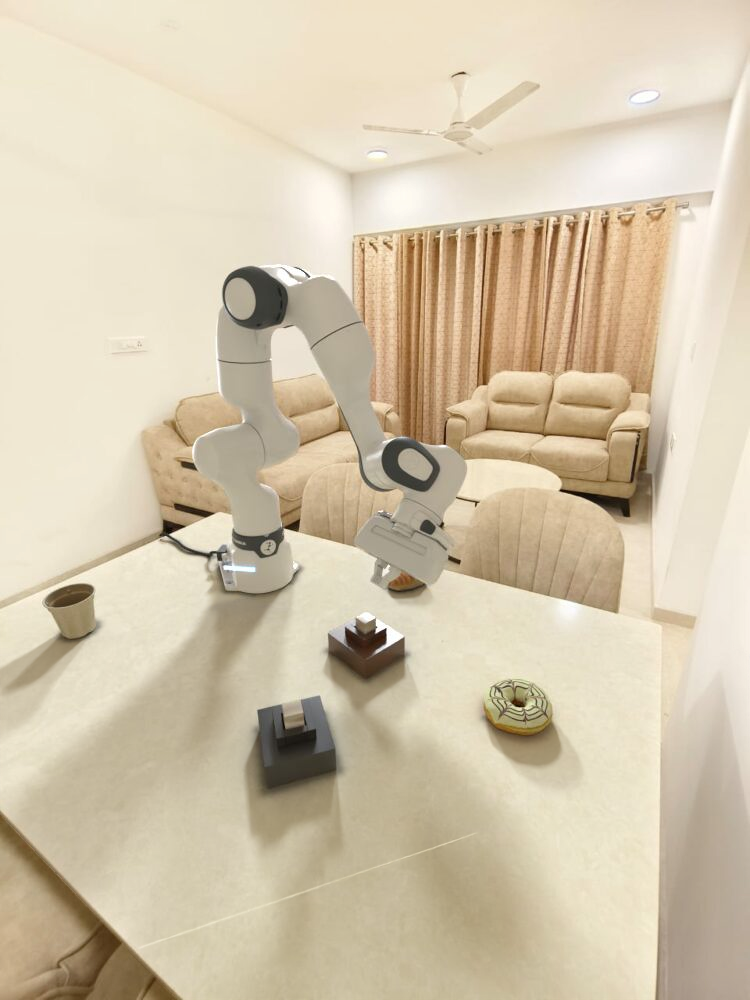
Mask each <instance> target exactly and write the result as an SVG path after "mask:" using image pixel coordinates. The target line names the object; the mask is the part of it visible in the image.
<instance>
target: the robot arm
mask: <svg viewBox="0 0 750 1000" xmlns="http://www.w3.org/2000/svg"><path fill="white" fill-rule="evenodd" d="M221 300H222V304H223V306H222V307H221V308H220V309H219V310H218V314H217V319H216V320H217V321H216V330H215V356H216V370H217V383H218V392H219V394H220V397H221V399H222V400H223V401H224V402H226V403H227V404H228V405H230V406H231V407H234V408H236V409H239V411H240V414H241V417H242V422H241V423H238V424H233V425H228V426H224V427H219V428H215V429H214V430H211V431H209V432H206V433H205V434H203V435H201V436H199V437H197V438H196V439H195V441H194V443H193V446H192V451H191V452H192V453H191V457H192V461H193V464H194V466H195V468H196V470H197V471H198V472H199V473H200V475H201V476H202V477H204V478H205V479H206V480H209V481H212V482H213V483H215V484H216V485H218V486H219V488H221V490H222V491H223V492H224V494H225V495H226V498H227V500H228V503H229V508H230V512H231V513H230V514H231V518H232V526H233V527H232V529H231V540H230V541H229V542H228V543H227V544H221V546H219V548H218V549H217V550H211V551H209V553H208V552H202V551H199V550H196V549H192V548H190V547H188V546H186V545H184V544H183V543H182V542H181V541H180V540H178V539H177V538H176V537H173V536H171V534H169V533H167V532H160V533H159V534H158V537H163V536H165V537H166V538H168V539H170V540H171V541H173V542H174V543H176V544H177V545H178V546H179V547H180V548H182V549H183V550H185V551H187V552H190V553H193V554H196V555H201V556H205V557H213V555H216V560H217V562H218V565H219V566H218V567H219V569H220V573H221V574H220V575H221V578H222V581H223V585H224V590H225V591H227V592H241V593H246V594H247V593H248V594H265V593H271V592H274V591H277V590H280V589H282V588H283V587H286V586H287V585H288V584H289V583H290V582H291V581H292V579H293V577H294V574H295V573H297V572H298V571H299V568H300V567H299V564H298V563H296V562H295V561H294V560H293V553H292V548H291V547H292V546H291V543H290V542H291V541H289V540H287V538H285V527H284V523H283V522H282V517H281V505H280V497H279V495H278V493H277V491H276V490H275V489H274V488H272V487H271V486H269V485H267V484H263V483H260V481H259V478H258V472H259V471H262V470H265V469H268V468H271V467H274V466H279V465H281V464H283V463H284V462H286V461H288V460H291V458H293V457H295V456H296V455H297V454H298V452H299V451H300V447H301V436H300V433H299V430H298V428H297V427H296V425H295V424H294V423H293V421H291V420H290V419H288V418H287V417H286V416H285V415H283V413H282V411H281V410H280V408H279V406H278V403H277V400H276V397H275V396H276V395H275V392H274V380H273V379H274V378H273V363H272V362H273V361H272V358H273V357H272V336H273V334H274V332H275V331H276V330H277V329H287V328H291V327H296V329H298V330H299V331H300V333H301V335H302V336H303V338H304V340H305V342H306V344H307V347H308V349H309V351H310V353H311V355H312V357H313V358H314V360H315V362H316V364H317V365H318V368H319V370H320V372H321V373H322V375H323V377H324V379H325V381H326V383H327V384H328V386H329V389H330V390H331V393H332V394H333V396H334V398H335V401H336V403H337V405H338V408H339V410H340V413H341V415H342V417H343V419H344V422H345V424H346V427H347V429H348V431H349V433H350V435H351V438H352V440H353V443H354V444H355V445H354V446H355V447H356V451H357V455H358V467H359V473H360V476H361V478H362V480H363V483H365V485H366V486H367V487H369V488H370V489H372V490H374V491H376V492H380V493H387V492H388V493H389V492H392V491H394V490H399V491H400V492H402V493H403V496H402V499H401V500H400V502H399V504H398V505H397V507H396V508H395V510H394V512H393V513H389V512H387V511H386V510H380V511H377V512H374V513H373V514H372V515H371V517H370V518H368V520H367V521H366V522H365V523H364V525H362V527H361V528H360V530H359V531H358V532H357V534H356V536H355V537H354V539H353V545H354V546H355V547H356V548H357V549H358V550H360V551H362V552H363V553H365V554H368V555H369V556H371V557H373V558H375V559H376V560H374V561H375V562H374V566H373V567H374V568H373V574H372V576H371V578H370V580H369V582H370V583H372V584H373V585H375V586H377V587H378V588H381V589H382V590H386V589H387V587H388V584H389V582H391V581H393V580H394V579H396V578H397V577H399V575H400V574H401V572H404V573H406V574H408V575H410V576H412V577H414V578H415V579H417V580H419V581H421V582H423V583H424V584H425V585H427V586H433V585H435V584H436V583H437V582H438V580H439V579H440V578H441V576H442V574H443V572H444V570H445V569H446V566H447V563H448V560H449V553H448V552H452V550H453V549H454V547H455V541H454V540H453V539H452V537H450V535H448V533H446V531H444V528H442V526H441V525H442V522H443V520H444V516H445V513H446V511H447V510H448V508H450V507H451V506H452V505H453V503H454V502H455V500H456V498H457V496H458V494H459V493H460V491H461V489H462V487H463V485H464V482H465V479H466V477H467V474H468V464H467V462H466V460H465V458H464V456H463V455H462V454H461V453H460V452H458V450H456V449H454V448H453V447H451V446H449V445H446V444H439V445H438V444H437V445H435V444H427V443H424V442H421V441H418V440H417V439H415V438H412V437H409V436H397V437H394V438H392V439H388V437H386V435H385V433H384V430H383V428H382V426H381V423H380V421H379V418H378V417H377V413H376V411H375V409H374V407H373V404H372V401H371V396H370V395H371V394H370V387H371V381H372V376H373V372H374V370H375V366H376V360H377V356H376V351H375V347H374V344H373V341H372V338H371V335H370V333H369V331H368V329H367V327H366V324H365V323H364V321H363V318H362V317H361V315H360V313H359V310H358V309H357V308H356V305H355V304H354V303H353V301H352V299H351V298H350V296H349V295H348V293H347V292H346V290H345V289H344V288H343V287H342V285H341V284H340V283H339V281H338V280H337V279H335V278H334V277H333V276H330V275H326V274H319V275H313V274H312V273H310V272H309V271H307V270H306V269H303V268H300V267H298V266H287V265H281V264H269V265H259V266H255V265H247V266H242V267H239V268H237V269H234V270H233V271H232V272H230V273H229V274H228V275H227V276H226V278H225V279H224V282H223V284H222V287H221ZM388 566H389V567H388ZM387 567H388V572H387V573H386V574H384V575H383V571H384V570H386V569H387Z"/></svg>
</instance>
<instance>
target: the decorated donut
mask: <svg viewBox="0 0 750 1000" xmlns="http://www.w3.org/2000/svg"><path fill="white" fill-rule="evenodd" d="M518 706H519V707H518ZM553 710H554V709H553V704H552V702H551V700H550V698H549V696H548V694H547V692H546V691H545V690H544V688H542V687H541V686H539V685H537V684H536V683H534V682H532V681H529V680H526V679H523V678H520V677H514V678H504V679H502V680H499V681H497V682H495V683H493V684H491V685H489V687H488V688H486V690H485V692H484V696H483V711H484V713H485V717H486V719H488V720H489V721H490V723H491V724H492V725H493V726H494V727H496V728H497V729H499V730H501V731H505V732H506V733H512V734H516V735H521V736H531V735H535V734H537V733H540V732H542V731H543V730H544V729H545V728H546V727H547V726H548V725H549V724H550V723H551V722H552V719H553V715H554V711H553Z"/></svg>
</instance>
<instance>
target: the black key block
mask: <svg viewBox="0 0 750 1000" xmlns="http://www.w3.org/2000/svg"><path fill="white" fill-rule="evenodd" d="M300 700H301V704H302V708H303V713H304V724H305V725H304V726H300V727H296V728H292V729H288V730H285V725H284V719H283V712H282V704H283V703H280V704H275V705H272V706H267V707H264V708H259V709H256V713H257V721H258V728H259V736H260V744H261V752H262V760H263V769H264V778H265V784H266V789H267V790H269V789H273V788H276V787H280V786H283V785H288V784H292V783H295V782H298V781H302V780H305V779H306V780H307V779H309V778H312V777H317V776H321V775H323V774H328V773H331V772H335V771H337V756H336V754H337V752H336V746H335V743H334V739H333V736H332V732H331V729H330V725H329V722H328V718H327V715H326V712H325V711H326V710H325V708H324V705H323V701H322V697H321V695H315V696H311V697H306V698H301V699H300Z"/></svg>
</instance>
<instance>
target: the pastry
mask: <svg viewBox="0 0 750 1000" xmlns="http://www.w3.org/2000/svg"><path fill="white" fill-rule="evenodd" d="M424 584H425V583H423V582H421V581H419V580H417V579H415V578H414V577H412V576H410V575H408V574H406V573H404V572H401V574H400V575H399V577H397V578H396V579H394V580H393V581H391V582H389V584H388V586H387V587H388V588H389V589H391V590H394V591H398V592H400V591H401V592H402V591H403V592H404V591H405V590H411V589H412V590H413V589H415V588H417V587H421V586H423V585H424Z"/></svg>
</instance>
